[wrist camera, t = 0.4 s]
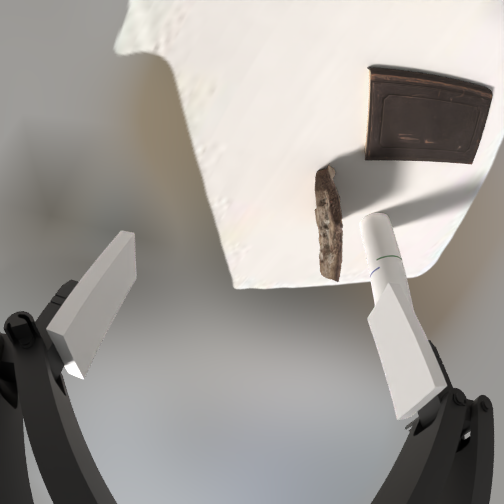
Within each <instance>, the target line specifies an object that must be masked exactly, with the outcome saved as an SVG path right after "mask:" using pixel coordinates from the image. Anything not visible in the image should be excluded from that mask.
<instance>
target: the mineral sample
mask: <svg viewBox="0 0 504 504" xmlns="http://www.w3.org/2000/svg"><path fill="white" fill-rule="evenodd" d="M329 164H330V163H329ZM334 176H335V170H334V168H332V167H330V166H329V165H328V167H327V168H326V169H322V170H319V171H317V173H316V177H315V195H316V206H317V209H315V215H316V222H317V226H318V229H319V243H320V254H319V259H320V272H321V274H322V275H323V276H324V277H325V278H328V279H332V280H335V281H337V282H338V281H339V277H340V271H341V263H342V236H343V231H342V228H343V224H342V221H341V220H342V211H341V207H340V196H339V195H338V191H337V188H336V186H335V183H334V181H333V178H334Z"/></svg>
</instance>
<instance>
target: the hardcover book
mask: <svg viewBox="0 0 504 504" xmlns="http://www.w3.org/2000/svg"><path fill="white" fill-rule="evenodd" d="M368 69H369V100H368V119H367V133H366V145H365V154H366V155H365V160H403V161H432V162H449V163H463V164H472V163H473V160H474V157H475V155H476V152H477V149H478V146H479V143H480V140H481V137H482V133H483V130H484V127H485V123H486V120H487V116H488V112H489V108H490V104H491V100H492V96H493V95H492V92H491V90H490V89H488V88H486V87H483V86H480V85H476V84H472V83H468V82H464V81H460V80H456V79H452V78H447V77H442V76H437V75H431V74H425V73H419V72H412V71H404V70H396V69H385V68H372V67H368Z"/></svg>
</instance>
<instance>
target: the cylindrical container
mask: <svg viewBox="0 0 504 504" xmlns="http://www.w3.org/2000/svg"><path fill="white" fill-rule="evenodd" d="M359 227H360V232H361V236H362V240H363V245H364V249H365V254H366V259H367V263H368V268H369V274H370V279H371V284H372V290H373V296H374V302H375V305H376V304H377V302H378V300H379V298H380V297H381V295H382V293H383V292H384V290H385V288H386V286H387V284H388V283H389V282H390V283H395V284H400V286H401V288H402V290H403V292H404V293H405V295H406V297H407V299H408V301H409V303H410V305H411V307H412V309H413V304H412V300H411V295H410V291H409V286H408V282H407V278H406V274H405V270H404V266H403V262H402V258H401V255H400V251H399V248H398V244H397V241H396V238H395V234H394V231H393V228H392V225H391V222H390V219H389V217H388V216H387V215H386V214H384V213H372V214H369V215H367V216H365V217H364V218H363V219H362V220H361V221H360V224H359ZM413 311H414V309H413Z"/></svg>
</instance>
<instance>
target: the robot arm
mask: <svg viewBox="0 0 504 504" xmlns="http://www.w3.org/2000/svg"><path fill="white" fill-rule="evenodd" d="M135 258H136V257H135V233H131V232H126V231H120V232H119V233H118V235H117V236H116V237H115V238H114V239H113V240H112V241H111V243H110V244H109V245H108V246H107V248H106V249H105V250H104V251H103V252H102V253H101V255H100V256H99V257H98V258H97V260H96V261H95V262H94V263H93V265H92V266H91V267H90V268H89V270H88V271H87V272H86V273H85V275H84V276H83V277H82V279H81V280H80V281H79V282H77V281H74V280H70V281H69V282H67V283H66V284H64V285H62V286H61V288H60V289H59V290H58V292H57V293H56V295H55V296H54V297H53V298H52V300H51V302H50V303H48V305H47V306H46V308H45V309H44V310H43V312H42V313H41V315H40V316H39V317H38V319H37V320H36V322H35V321H34V319H33V317H32V316H31V315H30V314H29V313H27V312H24V311H21V312H16V313H14V314H12V315H11V316H10V317H9V318H8V319H7V320H6V322H5V324H4V330H5V332H6V334H2V333H0V504H34V502H33V499H32V493H31V489H30V483H29V478H28V471H27V464H26V456H25V446H24V432H23V418H24V422H25V426H26V430H27V434H28V437H29V441H30V444H31V447H32V450H33V454H34V456H35V460H36V462H37V465H38V468H39V471H40V473H41V476H42V478H43V481H44V483H45V485H46V488H47V490H48V493H49V495H50V497H51V499H52V501H53V503H54V504H117V503H116V501H115V499H114V498H113V496H112V494H111V493H110V491H109V489H108V487H107V485H106V484H105V482H104V480H103V478H102V476H101V474H100V472H99V471H98V468H97V466H96V464H95V462H94V460H93V458H92V456H91V453H90V451H89V449H88V447H87V444H86V442H85V440H84V437H83V435H82V432H81V430H80V428H79V425H78V422H77V419H76V417H75V414H74V411H73V408H72V405H71V402H70V399H69V396H68V393H67V389H66V386H65V382H64V379H63V376H62V374H61V371H62V369H63V367H64V366H65V368H66V369H67V371H68V373H69V374H72V375H74V376H76V377H79V378H81V379H85V377H86V374H87V372H88V370H89V368H90V366H91V364H92V361H93V359H94V357H95V355H96V353H97V351H98V349H99V347H100V345H101V342H102V341H103V339H104V337H105V335H106V333H107V331H108V329H109V327H110V325H111V323H112V321H113V320H114V318H115V316H116V314H117V312H118V310H119V308H120V306H121V305H122V303H123V301H124V299H125V297H126V296H127V294H128V292H129V290H130V288H131V287H132V285H133V283H134V281H135V280H136V278H137V276H136V260H135ZM367 320H368V323H369V326H370V328H371V331H372V334H373V337H374V340H375V344H376V347H377V350H378V353H379V356H380V359H381V362H382V366H383V369H384V373H385V376H386V379H387V383H388V387H389V390H390V393H391V397H392V401H393V405H394V409H395V413H396V417H397V419H398V420H399V419H406V418H410V417H411V416H413V415H414V414H415V413H416V412H418V415H419V417H418V418H416V419H415V420H414V421H413V422H411V423H410V424H409V425H407V426H406V428H405V429H407V428H409V427H411V426H412V428H411V429H410V430H409V431H410V433H409V435H408V437H407V440H406V442H405V444H404V446H403V448H402V450H401V452H400V454H399V456H398V458H397V460H396V462H395V464H394V466H393V468H392V470H391V471H390V473H389V475H388V477H387V478H386V480H385V482H384V483H383V485H382V487H381V488H380V490H379V492H378V493H377V495H376V497H375V498H374V500H373V501H372V503H371V504H489V501H490V494H491V486H492V477H493V463H494V418H493V407H492V403H491V401H490V399H489V398H488V397H486V396H485V395H481V396H479V397H478V398H477V399H475V400H474V401H473V400H468V399H466V396H465V394H464V393H463V392H462V391H461V390H460V389H457V388H453V387H452V384H451V382H450V379H449V377H448V374H447V372H446V370H445V367H444V365H443V364H442V360H441V358H439V354H438V351H437V349H436V347H435V346H434V345H433V344H432V343H431V341H430V340H428V339H427V337H426V335H425V333H424V331H423V329H422V327H421V325H420V322H419V321H418V318H417V316H416V315H415V313H414V311H413V309H412V307H411V305H410V303H409V301H408V299H407V297H406V295H405V293H404V292H403V290H402V288H401V286H400V284H395V283H390V282H389V283H388V284H387V286H386V288H385V290H384V292H383V293H382V295H381V297H380V298H379V300H378V302H377V304H376V305H375V307H374V309H373V310H372V312H371V313H370V315H369V317H368V318H367ZM470 431H471V433H470V437H468V438H467V439H465V438H464V435H465V434H467V433H468V432H470Z"/></svg>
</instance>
